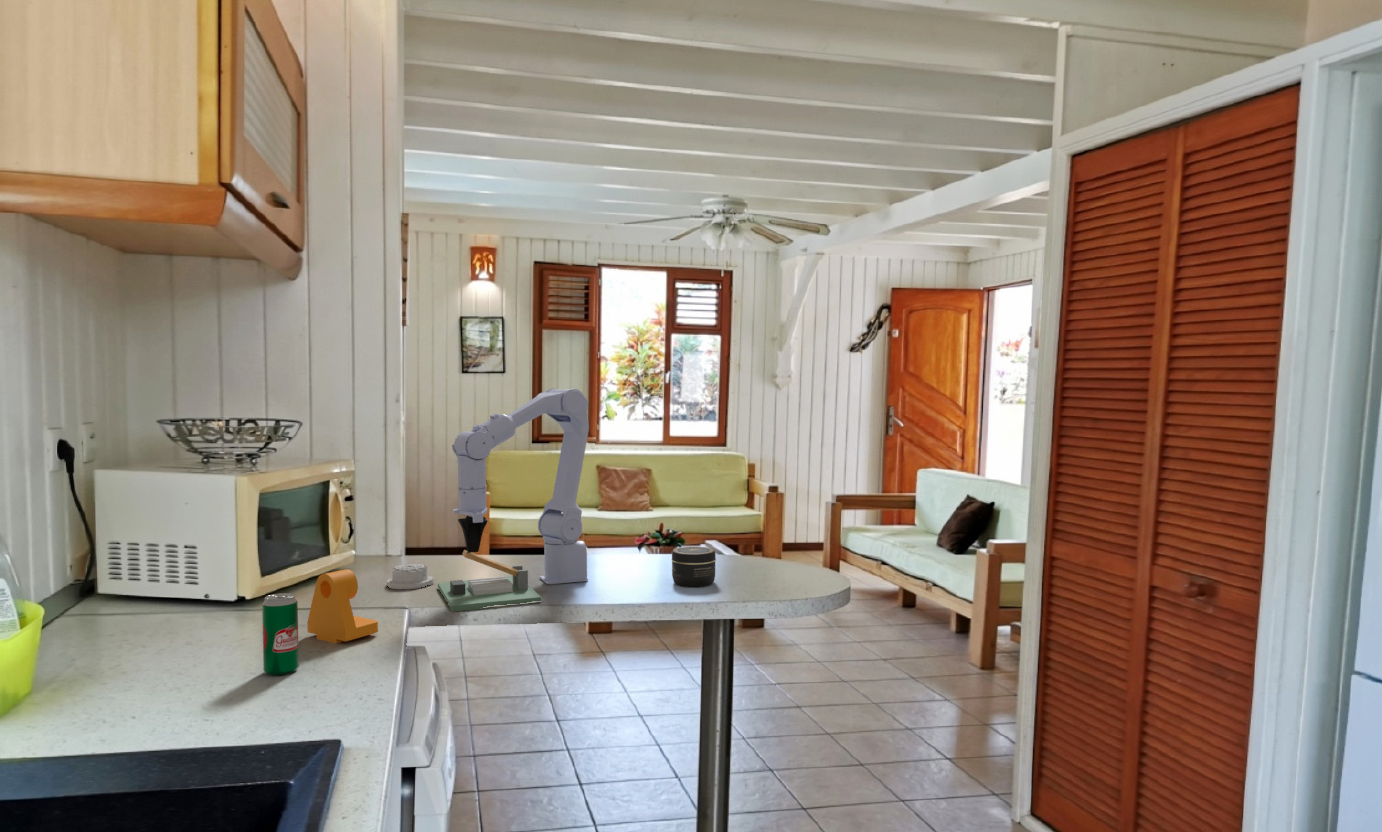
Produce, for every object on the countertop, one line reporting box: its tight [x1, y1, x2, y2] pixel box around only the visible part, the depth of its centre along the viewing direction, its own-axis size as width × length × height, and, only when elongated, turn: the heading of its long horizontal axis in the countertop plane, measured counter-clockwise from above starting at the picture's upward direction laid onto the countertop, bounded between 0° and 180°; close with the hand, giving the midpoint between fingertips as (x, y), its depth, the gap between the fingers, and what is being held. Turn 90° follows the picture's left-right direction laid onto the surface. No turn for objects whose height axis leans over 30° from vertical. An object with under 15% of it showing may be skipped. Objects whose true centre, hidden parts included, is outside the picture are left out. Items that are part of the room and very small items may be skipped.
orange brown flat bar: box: [462, 549, 518, 577], centre depth 191 cm, size 14×4×1 cm, turn 112°
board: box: [437, 564, 542, 613], centre depth 191 cm, size 18×22×5 cm
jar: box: [671, 546, 717, 589], centre depth 202 cm, size 10×10×8 cm
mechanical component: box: [386, 563, 434, 590], centre depth 201 cm, size 10×4×10 cm
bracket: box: [306, 568, 379, 644], centre depth 160 cm, size 11×7×12 cm, turn 58°
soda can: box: [261, 592, 300, 677], centre depth 140 cm, size 5×5×12 cm
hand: (473, 551), depth 189 cm, fingers closed
